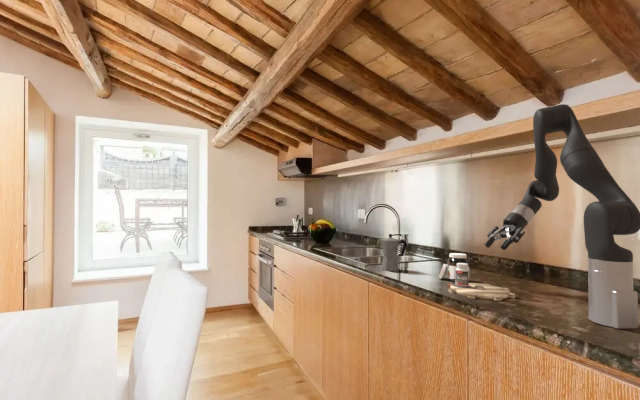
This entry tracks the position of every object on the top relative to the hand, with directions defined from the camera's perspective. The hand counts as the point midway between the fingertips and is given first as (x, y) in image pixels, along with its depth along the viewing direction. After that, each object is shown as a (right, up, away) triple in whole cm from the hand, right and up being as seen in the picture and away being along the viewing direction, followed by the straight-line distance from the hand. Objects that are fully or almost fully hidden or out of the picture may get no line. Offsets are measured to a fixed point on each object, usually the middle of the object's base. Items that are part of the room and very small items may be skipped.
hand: (493, 247), depth 127 cm
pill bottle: (-13, -15, -2) cm, 20 cm away
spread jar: (-10, -17, +14) cm, 24 cm away
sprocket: (-9, -16, -6) cm, 19 cm away
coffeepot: (-32, -17, +37) cm, 52 cm away
